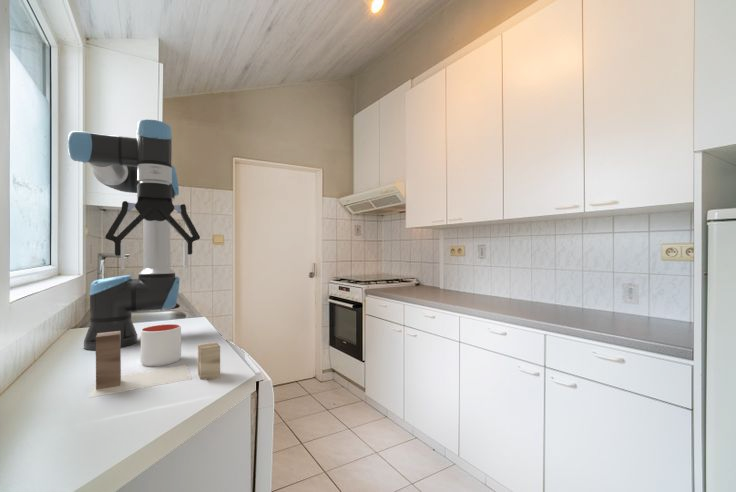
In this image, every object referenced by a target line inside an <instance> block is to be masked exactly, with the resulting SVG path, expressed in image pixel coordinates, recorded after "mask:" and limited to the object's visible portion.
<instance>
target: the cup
mask: <svg viewBox="0 0 736 492" xmlns="http://www.w3.org/2000/svg"><path fill="white" fill-rule="evenodd" d="M181 358H182V326H181V325H180V324H174V323H173V324H171V323H170V324H157V325H152V326H147V327H144V328H141V330H140V363H141V365H142V366H144V367H150V368H151V367H152V368H153V367H162V366H167V365H171V364H175V363H177V362H178V361H180V359H181Z"/></svg>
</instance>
